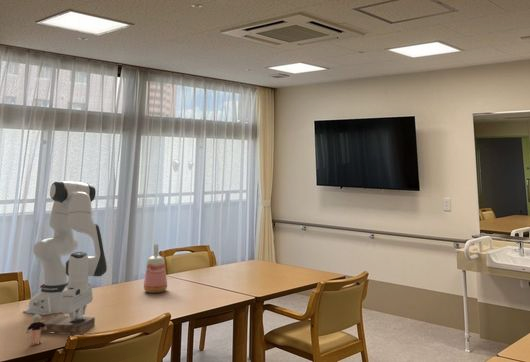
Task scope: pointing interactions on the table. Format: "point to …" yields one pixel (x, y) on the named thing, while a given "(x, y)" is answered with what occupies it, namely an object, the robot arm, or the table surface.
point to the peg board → (67, 325)
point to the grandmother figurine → (36, 330)
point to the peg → (79, 315)
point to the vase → (155, 273)
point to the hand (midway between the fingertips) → (77, 317)
